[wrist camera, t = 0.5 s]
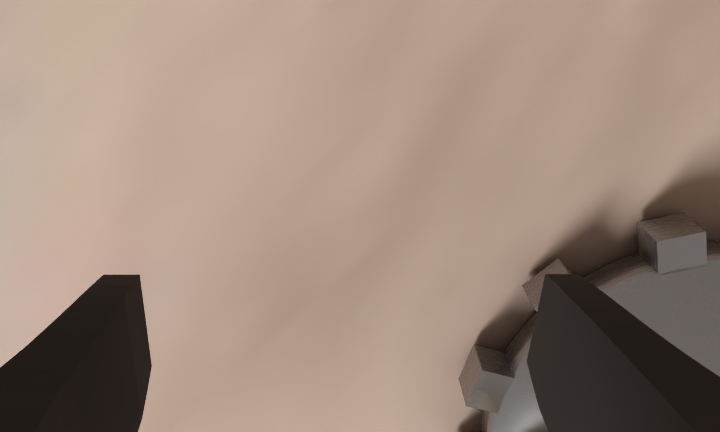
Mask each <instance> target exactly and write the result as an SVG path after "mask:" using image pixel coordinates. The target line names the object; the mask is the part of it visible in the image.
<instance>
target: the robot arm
mask: <svg viewBox="0 0 720 432" xmlns="http://www.w3.org/2000/svg"><path fill="white" fill-rule="evenodd" d="M527 365H528V369H529V373H530V376H531V380H532V384H533V388H534V392H535V395H536V399H537V402H538V406H539V409H540V412H541V414H542V417H543V419H544V422H545V424H546V427H547V429H548V432H720V377H719V376H718V375H716V374H715V373H713V372H712V371H710V370H709V369H707V368H706V367H704V366H703V365H702V364H700V363H699V362H697V361H696V360H694V359H693V358H691V357H690V356H688V355H687V354H685V353H684V352H682V351H681V350H680V349H678V348H677V347H675V346H674V345H673V344H671V343H670V342H668V341H667V340H666V339H664V338H663V337H662V336H660V335H659V334H658V333H656V332H655V331H654V330H652V329H651V328H650V327H648V326H647V325H646V324H644V323H643V322H642V321H640V320H639V319H638V318H636V317H635V316H634V315H632V314H631V313H630V312H629V311H627V310H626V309H625V308H623V307H622V306H621V305H619V304H618V303H617V302H616V301H614V300H613V299H612V298H610V297H609V296H608V295H606V294H605V293H604V292H602V291H601V290H600V289H599V288H597V287H596V286H594V285H593V284H592V283H590V282H589V281H588V280H586V279H585V278H583V277H582V276H580V275H579V274H545V278H544V282H543V287H542V292H541V296H540V301H539V306H538V310H537V315H536V320H535V324H534V329H533V334H532V338H531V343H530V347H529V352H528V357H527ZM150 372H151V358H150V350H149V343H148V335H147V328H146V320H145V312H144V305H143V297H142V289H141V282H140V275H103V276H102V277H101V278H100V279H98V280H97V281H96V282H95V283H94V284H93V285H92V286H91V287H90V288H89V289H87V290H86V291H85V292H84V293H83V294H82V295H81V296H80V297H79V298H78V299H77V300H76V301H75V302H74V303H73V304H72V305H71V306H70V307H68V308H67V309H66V310H65V311H64V312H63V313H62V314H61V315H60V316H59V317H58V318H57V319H56V320H55V321H54V322H53V323H51V324H50V325H49V326H48V327H47V328H46V329H45V330H44V331H43V332H41V333H40V334H39V335H38V336H37V337H36V338H35V339H34V340H33V341H31V342H30V343H29V344H28V345H27V346H26V347H25V348H24V349H23V350H21V351H20V352H19V353H18V354H16V355H15V356H14V357H13V358H12V359H10V360H9V361H8V362H7V363H5V364H4V365H3V366H2V367H1V368H0V432H138V429H139V426H140V423H141V420H142V415H143V410H144V405H145V400H146V395H147V389H148V383H149V378H150Z"/></svg>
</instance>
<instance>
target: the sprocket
mask: <svg viewBox="0 0 720 432" xmlns="http://www.w3.org/2000/svg"><path fill="white" fill-rule="evenodd" d="M637 227H638V242H639V253H638V254H634V255H632V256H629V257H626V258H624V259H621V260H619V261H616V262H613V263H611V264H608V265H606V266H604V267H602V268H600V269H598V270H596V271H595V272H593V273H591V274H589V275H587V276H585V277H583V278H585V279H586V280H588V281H589V282H590V283H592V284H593V285H594V286H596V287H597V288H599V289H600V290H601V291H602V292H604V293H605V294H606V295H608V296H609V297H610V298H612V299H613V300H614V301H616V302H617V303H618V304H619V305H621V306H622V307H623V308H625V309H626V310H627V311H629V312H630V313H631V314H632V315H634V316H635V317H636V318H638V319H639V320H640V321H642V322H643V323H644V324H646V325H647V326H648V327H650V328H651V329H652V330H654V331H655V332H656V333H658V334H659V335H660V336H662V337H663V338H664V339H666V340H667V341H668V342H670V343H671V344H673V345H674V346H675V347H677V348H678V349H680V350H681V351H682V352H684V353H685V354H687V355H688V356H690V357H691V358H693V359H694V360H696V361H697V362H699V363H700V364H702V365H703V366H704V367H706V368H707V369H709V370H710V371H712V372H713V373H715V374H716V375H718V376H719V377H720V242H707V241H706V231H705V230H704V229H703V228H701V227H700V226H699V225H698V224H697V223H695V222H694V221H693V220H692V219H691V218H690V217H688V216H687V215H686V214H685V213H684V212H683V213H679V214H674V215H669V216H664V217H660V218H655V219H650V220H645V221H640V222H637ZM545 274H572V273H571V272H570V271H569V269H568V268H567V267H566V266H565V265H564V264H563V263H562V262H561V261H560V259H559V258H558V259H556V260H555V261H554V262H553V263H551V264H550V265H549V266H547V267H546V268H545V269H543V270H542V271H541V272H539V273H538V274H537V275H535V276H534V277H533V278H531V279H530V280H529V281H528V282H526V283H525V284H524V285H522V286H523V288H524V290H525V292H526V294H527V296H528V298H529V300H530V302H531V304H532V306H533V308H534V309H535V310H536V311H537V310H538V306H539V301H540V296H541V292H542V287H543V282H544V278H545ZM536 315H537V313H536V314H535V315H534V316H533V317H532V318H531V319H530V320H529V321H528V322H527V323H526V324H525V325H524V326H523V327H522V329H521V330H520V331H519V332H518V334H517V335H516V337H515V338H514V339H513V341H512V342H511V343H510V345H509V346H508V347H507V349H506V351H505V352H501V351H497V350H493V349H489V348H485V347H482V346H478V345H474V346H473V348H472V350H471V353H470V355H469V357H468V359H467V362H466V364H465V366H464V368H463V371H462V373H461V375H460V377H459V381H460V385H461V389H462V393H463V396H464V400H465V404H466V406H469V407H473V408H477V409H481V410H483V415H482V432H548V429H547V427H546V424H545V422H544V419H543V417H542V414H541V412H540V409H539V406H538V402H537V399H536V395H535V392H534V388H533V384H532V380H531V376H530V373H529V369H528V365H527V357H528V352H529V347H530V343H531V338H532V334H533V329H534V324H535V320H536Z"/></svg>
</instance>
